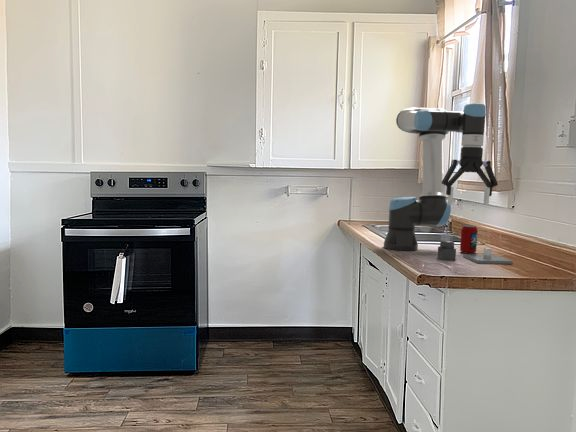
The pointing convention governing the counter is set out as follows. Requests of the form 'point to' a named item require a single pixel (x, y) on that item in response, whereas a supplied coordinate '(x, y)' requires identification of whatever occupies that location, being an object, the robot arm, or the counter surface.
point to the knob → (446, 250)
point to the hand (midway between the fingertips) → (468, 204)
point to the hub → (487, 258)
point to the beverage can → (468, 239)
